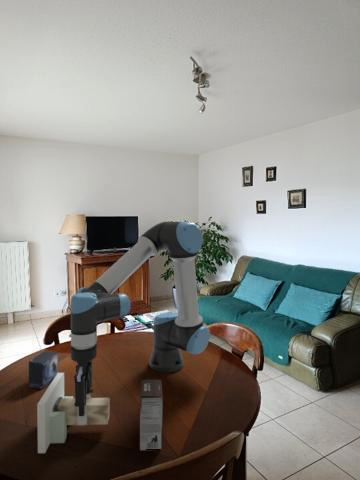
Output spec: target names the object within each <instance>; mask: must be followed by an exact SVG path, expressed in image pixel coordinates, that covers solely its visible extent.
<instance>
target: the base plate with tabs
mask: <svg viewBox="0 0 360 480" xmlns="http://www.w3.org/2000/svg"><path fill="white" fill-rule="evenodd" d="M59 397H62V398H75V395H74V396H73V395H71V396H69V395H68V396H67V395H66V396H65V372H58V373H57V375H56V376H55V378H54V380H53V381H52V382H51V383H49V386H48V387H47V389H46V390H45V392H44V393H43V394H42V396H41V398H40V400H39V401H38V403H37V404H36V407H37V408H36V409H37V413H36V414H37V422H36V423H37V454H46V452H47V450H48V449H49V446H50V445H51V444H64V443H66V440H67V428H68V427H67V425H66V411H57V412H54V405H55V403H56V401H57V399H58V398H59Z"/></svg>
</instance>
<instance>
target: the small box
mask: <svg viewBox="0 0 360 480" xmlns="http://www.w3.org/2000/svg"><path fill="white" fill-rule="evenodd" d="M58 361H59V352H56V351H55V352H54V351H49V350H44V351H42V352H41V353H39V354H37V355H36V356H34V357H33V358H31V359H30V360H28V388H29V389H37V390H43V389H44V388H46V387H47V386H48V385H50V384H51V383H52V381H53V380H54V378H55V376H56V375H57V373H59V367H58V365H59V362H58Z"/></svg>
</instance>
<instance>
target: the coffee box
mask: <svg viewBox="0 0 360 480" xmlns="http://www.w3.org/2000/svg"><path fill="white" fill-rule="evenodd" d="M139 395H140V397H139V403H140V404H139V451H147V450H146V449H161V448H162V446H163V445H162V444H163V440H162V439H163V383H162V379H141V380H140V394H139ZM162 449H163V448H162ZM162 449H161V450H162Z"/></svg>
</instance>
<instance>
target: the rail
mask: <svg viewBox="0 0 360 480" xmlns="http://www.w3.org/2000/svg"><path fill="white" fill-rule="evenodd" d="M110 399H111V398H110V397H91V398H86V403H87V425H86V426H90V425H91V426H94V425H95V426H96V425H108V423H109V419H110V411H111V410H110V409H111V408H110V407H111V406H110V405H111V404H110V403H111V402H110ZM74 404H75V397H74V398H62V397H59V398H58V399H57V401H56V403H55V405H54V412H57V411H66V426H78V425H77V407H75V405H74Z"/></svg>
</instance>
